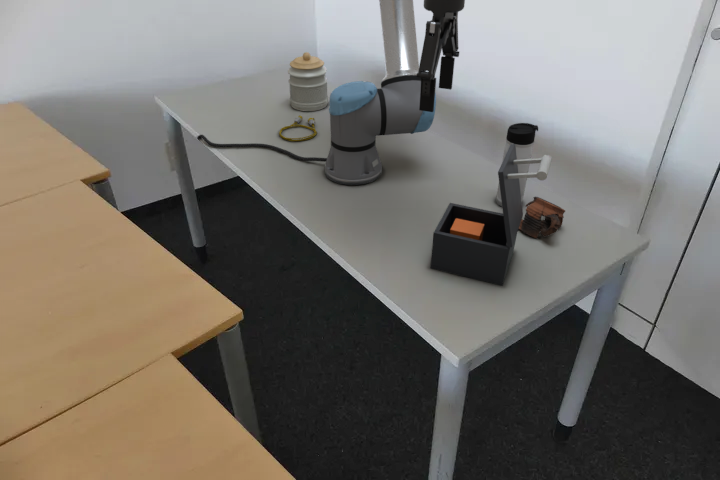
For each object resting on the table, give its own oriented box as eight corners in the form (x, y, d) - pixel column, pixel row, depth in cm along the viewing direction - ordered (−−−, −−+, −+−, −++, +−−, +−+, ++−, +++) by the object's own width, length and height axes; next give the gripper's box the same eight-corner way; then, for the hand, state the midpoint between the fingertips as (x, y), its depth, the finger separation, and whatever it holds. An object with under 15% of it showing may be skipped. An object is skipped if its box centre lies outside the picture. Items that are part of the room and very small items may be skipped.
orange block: (447, 257, 113) (450, 229, 109) (452, 245, 117) (455, 218, 113) (475, 263, 111) (479, 235, 107) (480, 251, 115) (484, 224, 111)
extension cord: (331, 127, 170) (331, 121, 169) (300, 145, 160) (299, 139, 158) (301, 119, 176) (300, 113, 175) (268, 136, 165) (268, 129, 164)
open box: (430, 268, 112) (433, 232, 107) (446, 236, 121) (450, 202, 116) (502, 286, 107) (509, 249, 102) (513, 251, 116) (520, 216, 111)
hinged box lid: (497, 172, 94) (544, 169, 91) (510, 144, 104) (552, 140, 100) (507, 247, 102) (550, 247, 98) (518, 214, 111) (558, 214, 108)
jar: (296, 96, 192) (293, 45, 182) (332, 99, 190) (330, 47, 180) (285, 110, 182) (280, 57, 172) (322, 113, 180) (320, 59, 169)
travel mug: (523, 210, 130) (539, 132, 118) (495, 207, 131) (508, 130, 120) (522, 197, 135) (537, 121, 123) (495, 194, 136) (508, 119, 125)
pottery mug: (507, 222, 126) (524, 190, 124) (539, 235, 129) (556, 204, 127) (533, 240, 115) (552, 205, 113) (567, 253, 118) (586, 219, 116)
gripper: (447, 1, 88) (436, 124, 101) (480, -24, 107) (468, 82, 119) (403, -2, 91) (398, 118, 103) (443, -27, 110) (435, 77, 122)
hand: (436, 99), depth 111 cm, fingers open, 13 cm apart
